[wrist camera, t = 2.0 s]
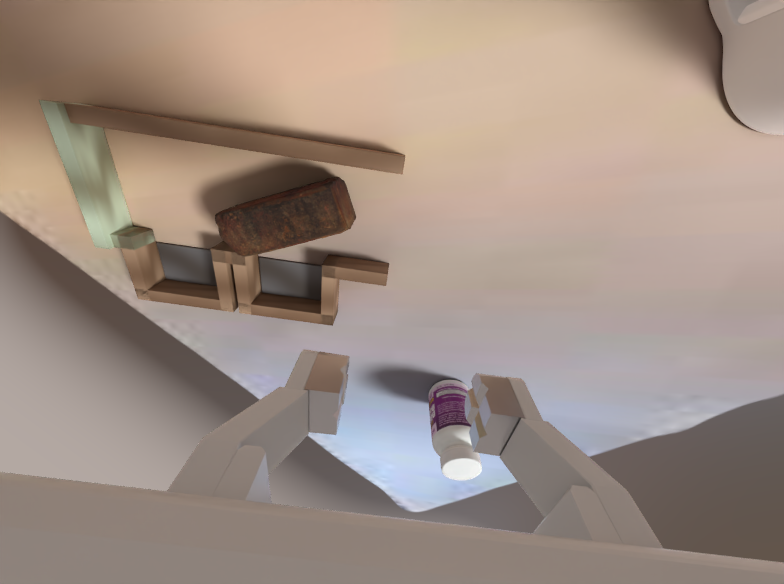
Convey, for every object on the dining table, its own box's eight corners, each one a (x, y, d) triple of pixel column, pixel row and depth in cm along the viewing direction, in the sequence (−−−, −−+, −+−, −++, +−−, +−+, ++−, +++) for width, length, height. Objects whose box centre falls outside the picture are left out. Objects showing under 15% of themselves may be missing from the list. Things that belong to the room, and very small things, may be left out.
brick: (343, 173, 25) (331, 180, 21) (357, 217, 27) (349, 233, 22) (234, 204, 26) (203, 217, 22) (255, 244, 28) (229, 263, 24)
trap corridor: (80, 103, 23) (38, 99, 20) (404, 155, 24) (405, 157, 21) (140, 284, 31) (115, 299, 28) (380, 318, 32) (378, 334, 29)
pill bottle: (421, 384, 36) (426, 460, 28) (461, 372, 35) (480, 448, 27) (436, 411, 39) (445, 489, 30) (474, 401, 37) (495, 479, 29)
